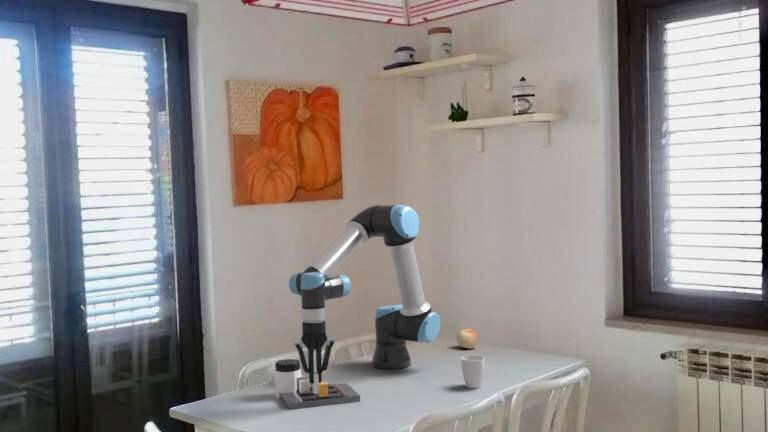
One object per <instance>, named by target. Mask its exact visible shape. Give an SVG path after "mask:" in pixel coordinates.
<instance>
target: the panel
mask: <svg viewBox="0 0 768 432" xmlns="http://www.w3.org/2000/svg"><path fill="white" fill-rule="evenodd" d="M327 384H328V396H325V397H319V396H318V395H317V394H314V393H313V387H312V385H311V384H310V382H309V380H308V379H306V376H305V375H303V374H301V376H300V377H298V378H297V391H296V392H292V393H280V392H279V398H278V399H279V400H280V401H281V402H282V404H283V405H284V406H285V408H286V409H287V411H288V410H297V409H305V408H315V407H321V406H332V405H339V404H340V405H341V404H348V403H349V404H351V403H358V402H361V395H360V393H359V392H357V391H356V389H355V390H354V389H353V388H352V387H351V386H350V385H349V384H348V383H337V384H336V383H333V384H332V383H331V384H330V383H327Z"/></svg>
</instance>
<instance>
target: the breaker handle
mask: <svg viewBox="0 0 768 432" xmlns="http://www.w3.org/2000/svg"><path fill="white" fill-rule="evenodd" d="M328 384H329V383H328V382H326V381H323V382H322V381H321V383H319V394H317V395H318V396H319V397H325V396H328Z"/></svg>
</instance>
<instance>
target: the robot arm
mask: <svg viewBox="0 0 768 432" xmlns="http://www.w3.org/2000/svg"><path fill="white" fill-rule="evenodd" d="M419 219H420V218H419V216H418V213H417V212H416V211H415V209H414V208H412V207H411V206H408V205H402V204H397V205H396V204H393V205H388V204H387V205H386V204H384V205H383V204H382V205H380V204H377V205H371V206H368V207H367V208H364V209H363V210H362V211H359V212H358V213H357V214H356V215H355V216H353V217H352V218H351V219H350V220H349V221H348V222H347V224H346V225H345V229H344V230H343V231H342V232H340V234H339V235H338V236H337V237H336V238H335V239H334V240H333V242H331V243H330V244H329V246H327V248H326V249H324V250H323V251H322V252H321V254H320V255H319V256H318V257H316V259H315V260H314V261H313V262H312V263H310V265H309V266H308V267H307V268H305V270H304V271H302V272H295V273H293V274H292V275H291V276H290V277H289V279H288V288H289V290H290V292H291V293H293V294H294V295H298V296H300V297H301V300H300V301H301V319H302V324H301V327H302V330H301V331H302V332H301V333H302V336H301V337H300V340H299V341H298V342H295V343H294V346H295V348H296V350H297V352H298V356H299V361H300V363H301V367H302V371H303V370H304V371H305V372H306V373H309V382H310V383H311V384H310V385H311V386H312V387H313V393H314V394H319V383H321V382H322V381H323V380H322V379H323V378H322V375H323V373H324V372H323V371H327V370H328V366H329V361H330V356H331V352H332V348H333V346H334V345H335V342H334V340H332V339H330V338H329V337H328V335H327V331H326V329H327V328H326V321H325V319H326V301H328V300H333V299H341V298H344V297H346V296H348V295H349V294H350V293H351V290H352V282H351V280H350V278H349V277H348V276H347V275H345V274H335V275H332V274H333V273H334V272H335V271H336V270H337V269H338V268H339V267H340V265H342V263H343V262H344V261H345V260H347V258H348V257H350V255H351V254H352V253H353V252H354V251H355V250H356V249H357V247H359V246H360V244H365V243H366V242H367V241H369V239H371V238H375V237H377V238H378V237H379V238H383V242H384V246H385V247H387V248H389V250H390V255H391V259H392V263H393V267H394V272H395V277H396V281H397V286H398V290H399V294H400V299H401V303H402V304H392V305H385V306H380V307H378V308H377V309H375V317H374V319H375V321H374V322H375V324H374V325H375V348H374V352H373V356H372V357H371V366H372V367H373V368H376V369H382V370H383V369H384V370H397V369H403V368H408V367H410V366H412V360H411V359H412V358H411V355H410V352H409V350H408V347H407V342H414V343H419V344H424V343H425V344H429V343H432V342H433V341H434V340H436V338H437V337H438V335H439V332H440V328H441V318H440V315H439V314H438V313H437V312H435V311H432V306H431V304H430V303H429V302H427V301H426V298H425V293H424V290H423V285H422V279H421V275H420V270H419V267H418V262H417V257H416V252H415V248H414V242H415V241H416V239H417V237H416V236H417V235H418V233H419V230H420V229H419V227H420V220H419ZM324 344H325V345H326V346H325V349H324V350H325V354H324V356H323V360H322V355H321V351H322V348H323V347H324ZM304 346H305V348H308V366H309V368H308V367H307V363H306V360H305V356H304V352H303V350H302V349H304ZM314 349H315V350H316V370H317V372H314V355H313V353H314ZM322 372H323V373H322Z"/></svg>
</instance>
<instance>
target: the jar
mask: <svg viewBox="0 0 768 432" xmlns="http://www.w3.org/2000/svg"><path fill="white" fill-rule="evenodd" d="M300 363H301V360H298V359H294V358H292V359H291V358H289V359H288V358H286V359H279V360H277V361H275V365H274V366H275V369H274V397H276V398H278V399H280V398H279V392H280V393H292V392H296V391H297V378H298V377H300V376H301V375H302V369H301V368H300V367H301V365H300Z"/></svg>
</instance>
